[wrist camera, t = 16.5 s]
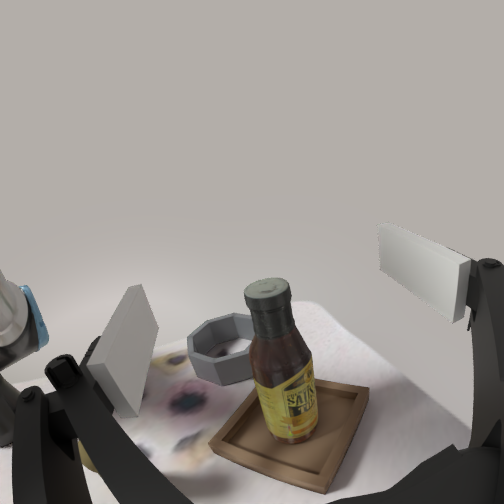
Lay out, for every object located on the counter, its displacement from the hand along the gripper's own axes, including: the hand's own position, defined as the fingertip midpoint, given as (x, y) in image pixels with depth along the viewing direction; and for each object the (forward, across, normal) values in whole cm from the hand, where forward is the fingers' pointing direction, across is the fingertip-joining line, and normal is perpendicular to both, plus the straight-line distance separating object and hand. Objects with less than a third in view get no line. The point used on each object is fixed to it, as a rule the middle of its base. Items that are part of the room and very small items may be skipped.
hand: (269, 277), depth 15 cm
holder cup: (+27, -6, -26) cm, 38 cm away
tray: (+9, 0, -26) cm, 27 cm away
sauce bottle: (+9, 0, -25) cm, 26 cm away
